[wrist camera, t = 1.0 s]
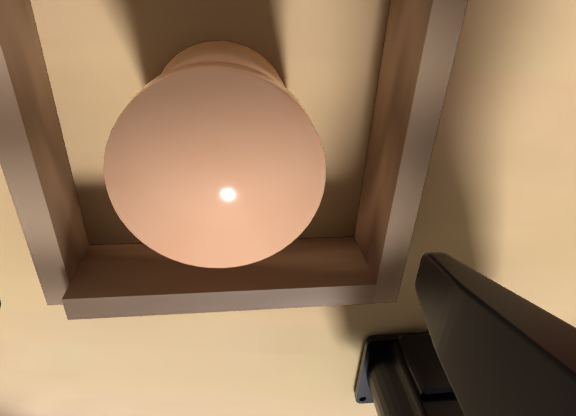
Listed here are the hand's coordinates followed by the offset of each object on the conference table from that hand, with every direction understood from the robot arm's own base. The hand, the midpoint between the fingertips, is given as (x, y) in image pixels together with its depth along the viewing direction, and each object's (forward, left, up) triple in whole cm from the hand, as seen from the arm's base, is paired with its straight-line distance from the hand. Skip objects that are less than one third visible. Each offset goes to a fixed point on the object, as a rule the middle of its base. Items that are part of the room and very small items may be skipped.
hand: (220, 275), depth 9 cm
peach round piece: (0, 0, -11) cm, 11 cm away
